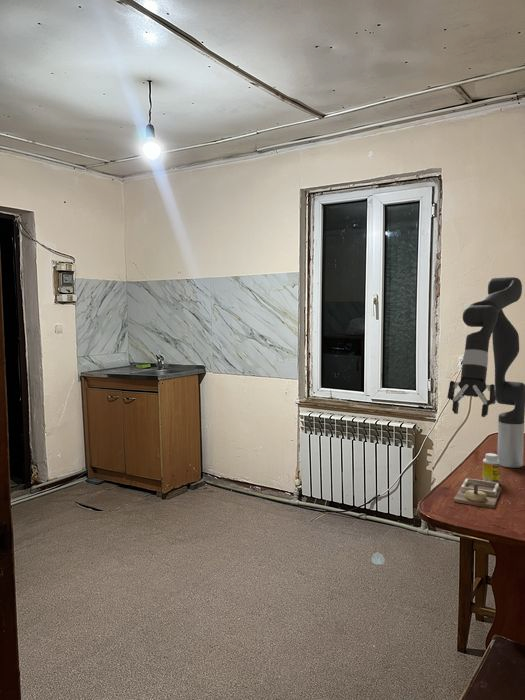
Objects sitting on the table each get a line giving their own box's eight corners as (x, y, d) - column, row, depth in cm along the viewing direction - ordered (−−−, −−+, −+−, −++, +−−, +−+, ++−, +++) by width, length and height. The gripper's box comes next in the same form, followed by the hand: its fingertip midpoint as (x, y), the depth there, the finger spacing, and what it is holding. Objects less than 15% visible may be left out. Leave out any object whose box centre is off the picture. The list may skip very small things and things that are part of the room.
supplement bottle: (493, 486, 183) (494, 457, 183) (479, 481, 188) (479, 454, 187) (502, 483, 186) (503, 455, 186) (488, 479, 191) (489, 451, 190)
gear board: (464, 484, 185) (464, 469, 185) (501, 490, 179) (501, 474, 179) (453, 501, 169) (454, 485, 169) (494, 508, 163) (494, 491, 163)
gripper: (501, 369, 167) (495, 419, 165) (455, 366, 176) (450, 413, 174) (495, 364, 162) (489, 416, 159) (448, 361, 170) (443, 411, 168)
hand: (469, 415), depth 167 cm, fingers open, 8 cm apart
